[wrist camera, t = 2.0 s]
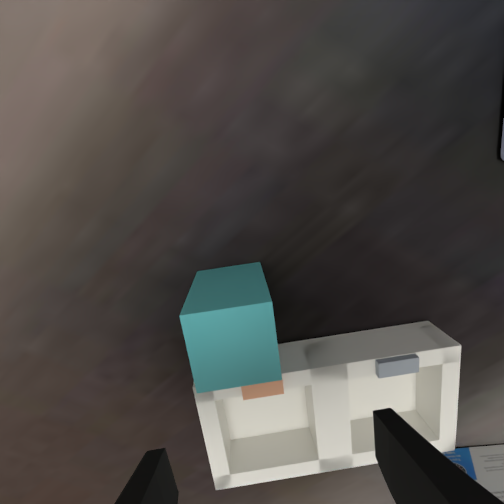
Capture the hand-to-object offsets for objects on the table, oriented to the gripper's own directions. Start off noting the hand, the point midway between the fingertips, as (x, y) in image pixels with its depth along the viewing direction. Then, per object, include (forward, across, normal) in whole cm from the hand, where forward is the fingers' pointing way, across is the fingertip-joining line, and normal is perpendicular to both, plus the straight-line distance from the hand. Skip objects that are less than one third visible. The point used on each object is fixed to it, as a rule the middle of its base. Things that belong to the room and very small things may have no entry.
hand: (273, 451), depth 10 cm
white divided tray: (+10, -4, +6) cm, 12 cm away
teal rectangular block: (+10, +1, -2) cm, 10 cm away
